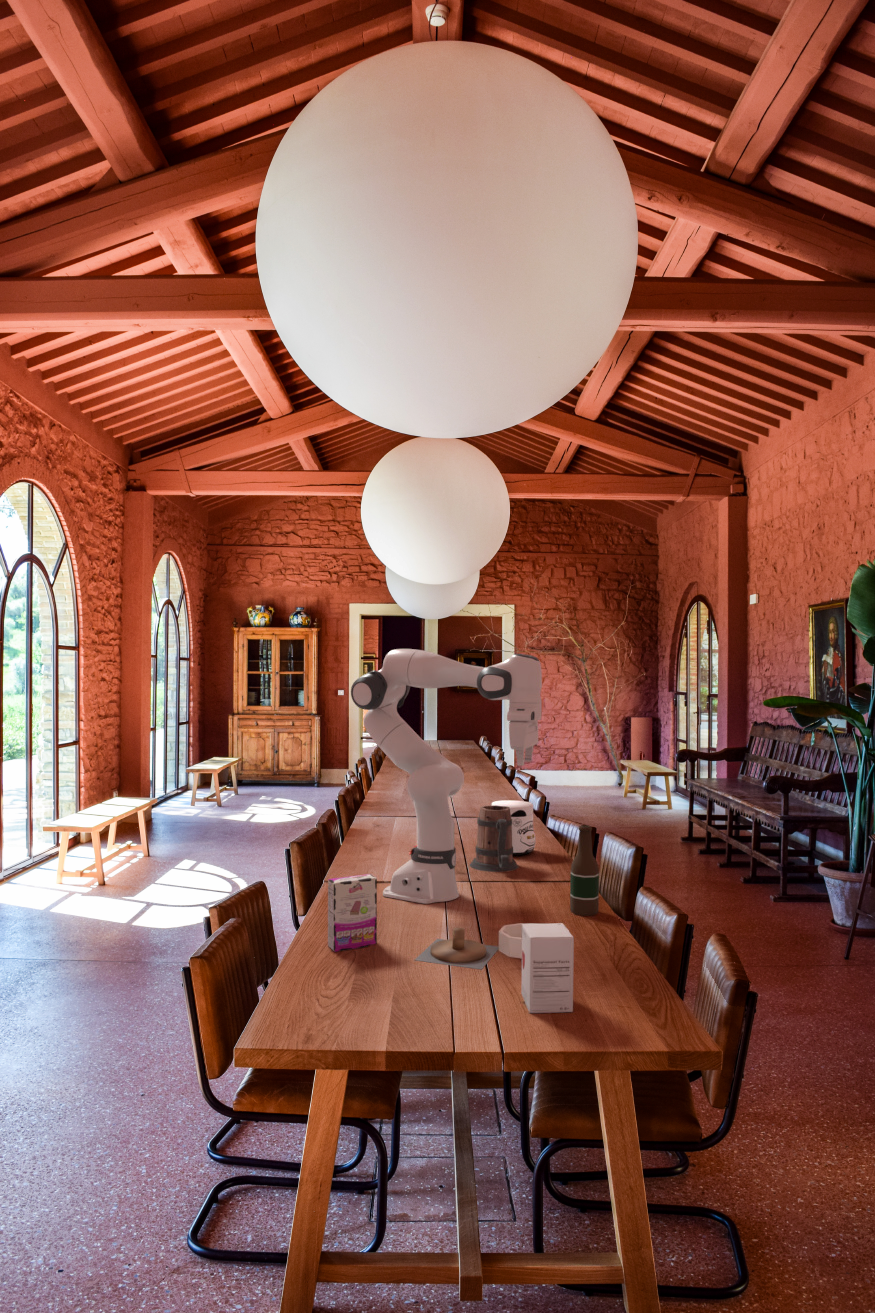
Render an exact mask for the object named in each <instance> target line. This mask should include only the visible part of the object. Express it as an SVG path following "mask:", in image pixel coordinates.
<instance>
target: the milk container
mask: <svg viewBox="0 0 875 1313" xmlns="http://www.w3.org/2000/svg"><path fill="white" fill-rule="evenodd" d="M490 806H507V807H509V808H510V813H511V819H512V846H513V856H520V855H527V854H530V853H532V852H533V851H534V850H535V847H536V833H535V829H534V811H535V810H534V803H532V802H530V801H524V800H517V799H516V800H514V799H513V800H512V799H511V800H509V799H507V800H503V799H502V800H496V801H492V802H491V805H490Z"/></svg>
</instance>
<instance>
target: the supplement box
mask: <svg viewBox="0 0 875 1313" xmlns="http://www.w3.org/2000/svg"><path fill="white" fill-rule="evenodd" d="M574 939H575V938H574V936H573V934H571V932H570V930H569V929H568V928H567V926H566V925H565V924H564V923H562V922H558V923H557V922H556V923H554V922H553V923H531V922H529V923H524V924H522V959H521V996H522V999H523V1000H524V1001H523V1002H524V1003H525V1006H526V1009H527V1010H528V1013H529V1014H545V1013H546V1014H547V1013H549V1014H551V1013H556V1014H557V1013H573V1011H574V957H575V955H574V954H575V953H574V948H575V943H574Z"/></svg>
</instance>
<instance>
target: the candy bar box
mask: <svg viewBox="0 0 875 1313" xmlns="http://www.w3.org/2000/svg"><path fill="white" fill-rule="evenodd" d="M377 893H378V881H377V877H376V876H374V875H372V874H370V873H367V874H359V875H358V874H357V875H352V876H350V875H349V876H342V877H334V878H328V879H327V947H328V948H329V949H330V950H332V952H334V953H337V952H345V951H350V950H356V949H362V948H368V947H370V946H371V945H375V944H378V943H377V940H378V938H377V936H378V933H377V932H378V926H377V923H378V920H377V918H378V914H377V913H378V911H377V909H378V908H377V906H378V905H377V904H378V903H377V902H378V901H377V900H378V899H377V898H378V894H377Z"/></svg>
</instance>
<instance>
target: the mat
mask: <svg viewBox="0 0 875 1313" xmlns="http://www.w3.org/2000/svg"><path fill="white" fill-rule="evenodd" d="M442 940H445V939H443V938H436V939H435V940H434V941H433V942H432V943H431V944H429V946H428V947H427V948H425V949H424V950H423V951H422V952H421V953H420V954H419V955H417V957H416V958H414V961H417V962H424V963H431V964H438V965H445V966H454V967H460V968H465V969H466V968H467V969H473V970H474V969H475V970H483V969H484V967H485V966H487V964H488V963H489V962H490V960H491V959H493V956H495V954H496V953H497V952H498V951H499V945H498V946H497V945H491V944H490V945H488V944H483V945H484V946H485V947H486V956H485V957H484V958H483V959H481V960H479V961H475V962H470V963H450V962H445V961H441V960H438V959H436V958H434V957H433V956H432V955H431V946H432V945H433V944H434V943H436V942H439V941H442Z"/></svg>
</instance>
